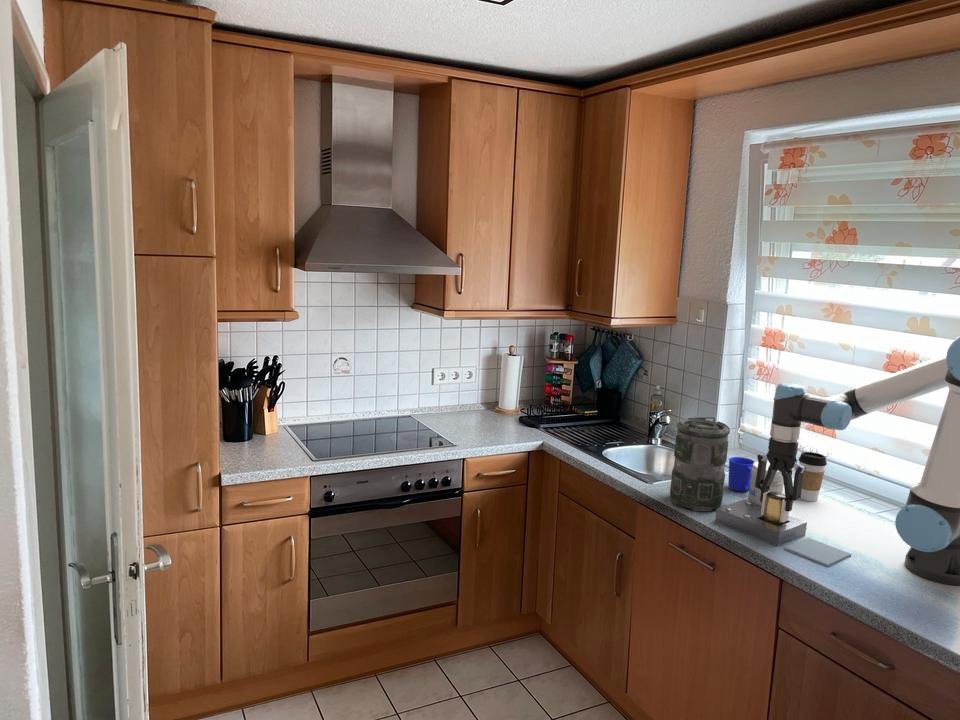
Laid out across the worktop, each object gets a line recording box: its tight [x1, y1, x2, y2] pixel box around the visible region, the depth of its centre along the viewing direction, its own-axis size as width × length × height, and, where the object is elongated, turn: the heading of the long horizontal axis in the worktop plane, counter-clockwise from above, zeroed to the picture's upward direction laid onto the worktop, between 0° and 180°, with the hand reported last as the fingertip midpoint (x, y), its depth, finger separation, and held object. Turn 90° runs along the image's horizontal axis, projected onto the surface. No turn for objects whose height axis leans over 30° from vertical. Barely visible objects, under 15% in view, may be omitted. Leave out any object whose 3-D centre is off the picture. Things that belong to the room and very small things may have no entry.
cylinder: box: [764, 492, 786, 526], centre depth 203 cm, size 5×5×11 cm
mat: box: [784, 537, 852, 567], centre depth 193 cm, size 12×12×1 cm
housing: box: [715, 499, 808, 547], centre depth 207 cm, size 20×14×4 cm
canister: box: [669, 416, 731, 512], centre depth 223 cm, size 16×16×28 cm
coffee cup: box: [798, 451, 828, 502], centre depth 233 cm, size 8×8×15 cm
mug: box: [727, 456, 755, 493], centre depth 237 cm, size 8×12×10 cm
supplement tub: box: [747, 461, 784, 506], centre depth 219 cm, size 10×10×15 cm
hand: (774, 517), depth 203 cm, fingers closed on cylinder, 5 cm apart
